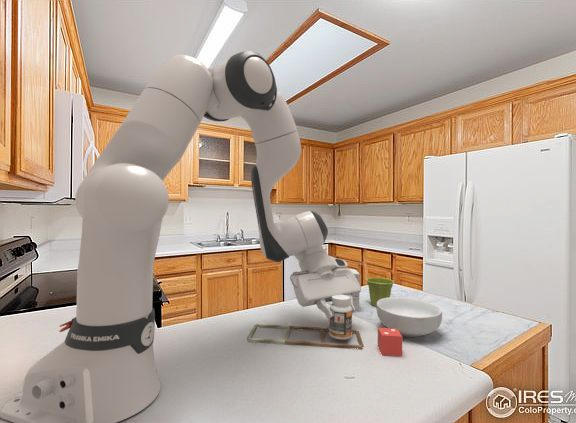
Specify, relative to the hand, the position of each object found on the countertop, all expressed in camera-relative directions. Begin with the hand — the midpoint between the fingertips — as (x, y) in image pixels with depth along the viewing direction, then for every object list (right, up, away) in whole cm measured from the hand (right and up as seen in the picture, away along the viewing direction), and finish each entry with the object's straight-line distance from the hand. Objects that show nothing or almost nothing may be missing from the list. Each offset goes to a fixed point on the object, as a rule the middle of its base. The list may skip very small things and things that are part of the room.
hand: (342, 315), depth 73 cm
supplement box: (+6, -7, +25) cm, 27 cm away
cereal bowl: (+19, -7, +7) cm, 22 cm away
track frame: (-9, -6, +2) cm, 11 cm away
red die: (+10, -6, -5) cm, 13 cm away
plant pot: (+18, -7, +29) cm, 35 cm away
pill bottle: (-1, -6, +1) cm, 6 cm away
